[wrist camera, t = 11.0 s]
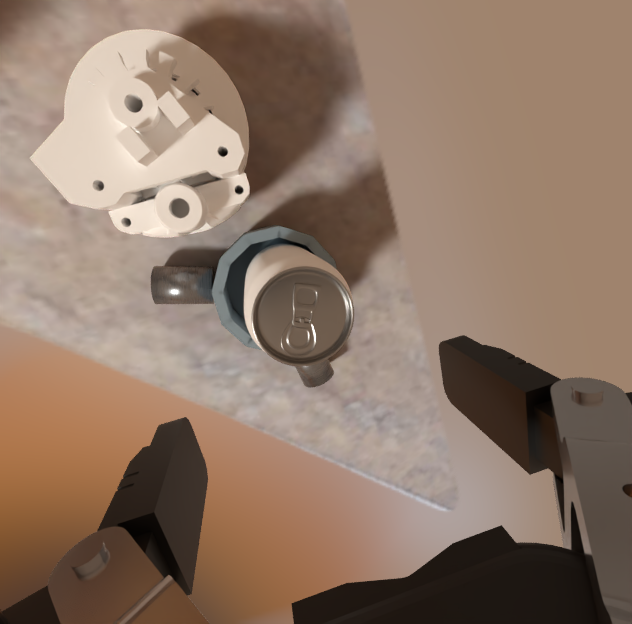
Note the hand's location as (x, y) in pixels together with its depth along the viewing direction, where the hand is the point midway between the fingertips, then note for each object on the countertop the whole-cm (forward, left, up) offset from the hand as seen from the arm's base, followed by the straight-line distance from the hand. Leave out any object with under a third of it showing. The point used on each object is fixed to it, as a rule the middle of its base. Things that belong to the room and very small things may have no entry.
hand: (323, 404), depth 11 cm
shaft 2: (+1, -7, -22) cm, 23 cm away
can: (+1, 0, -21) cm, 21 cm away
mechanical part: (-5, +12, -22) cm, 25 cm away
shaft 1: (-7, +2, -22) cm, 23 cm away
